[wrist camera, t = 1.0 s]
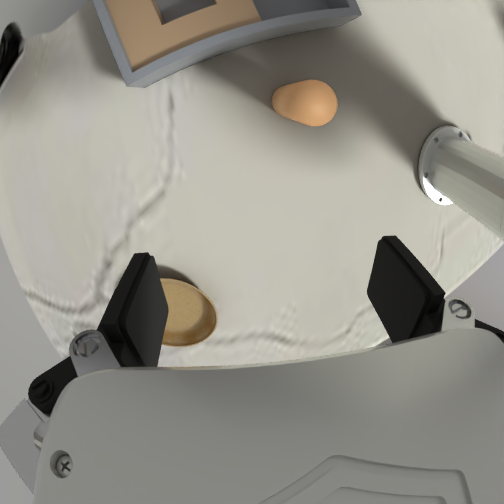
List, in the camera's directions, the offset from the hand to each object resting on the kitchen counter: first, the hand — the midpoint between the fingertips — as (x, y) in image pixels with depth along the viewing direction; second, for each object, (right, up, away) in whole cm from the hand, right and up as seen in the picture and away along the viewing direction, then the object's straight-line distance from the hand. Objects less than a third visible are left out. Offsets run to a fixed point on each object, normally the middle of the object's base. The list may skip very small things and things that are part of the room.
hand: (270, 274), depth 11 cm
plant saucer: (-13, -8, +31) cm, 35 cm away
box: (-4, +29, +9) cm, 31 cm away
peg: (+3, +18, +17) cm, 25 cm away
